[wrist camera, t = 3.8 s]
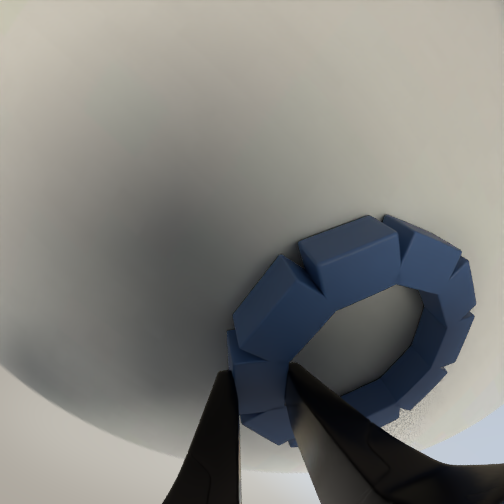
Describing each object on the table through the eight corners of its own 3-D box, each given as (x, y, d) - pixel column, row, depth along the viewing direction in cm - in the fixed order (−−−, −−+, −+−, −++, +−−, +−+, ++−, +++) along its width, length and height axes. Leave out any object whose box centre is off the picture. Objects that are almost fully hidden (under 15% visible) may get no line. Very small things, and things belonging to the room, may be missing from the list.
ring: (308, 441, 13) (318, 466, 12) (165, 335, 9) (162, 370, 8) (462, 331, 12) (481, 350, 11) (407, 157, 8) (442, 166, 7)
